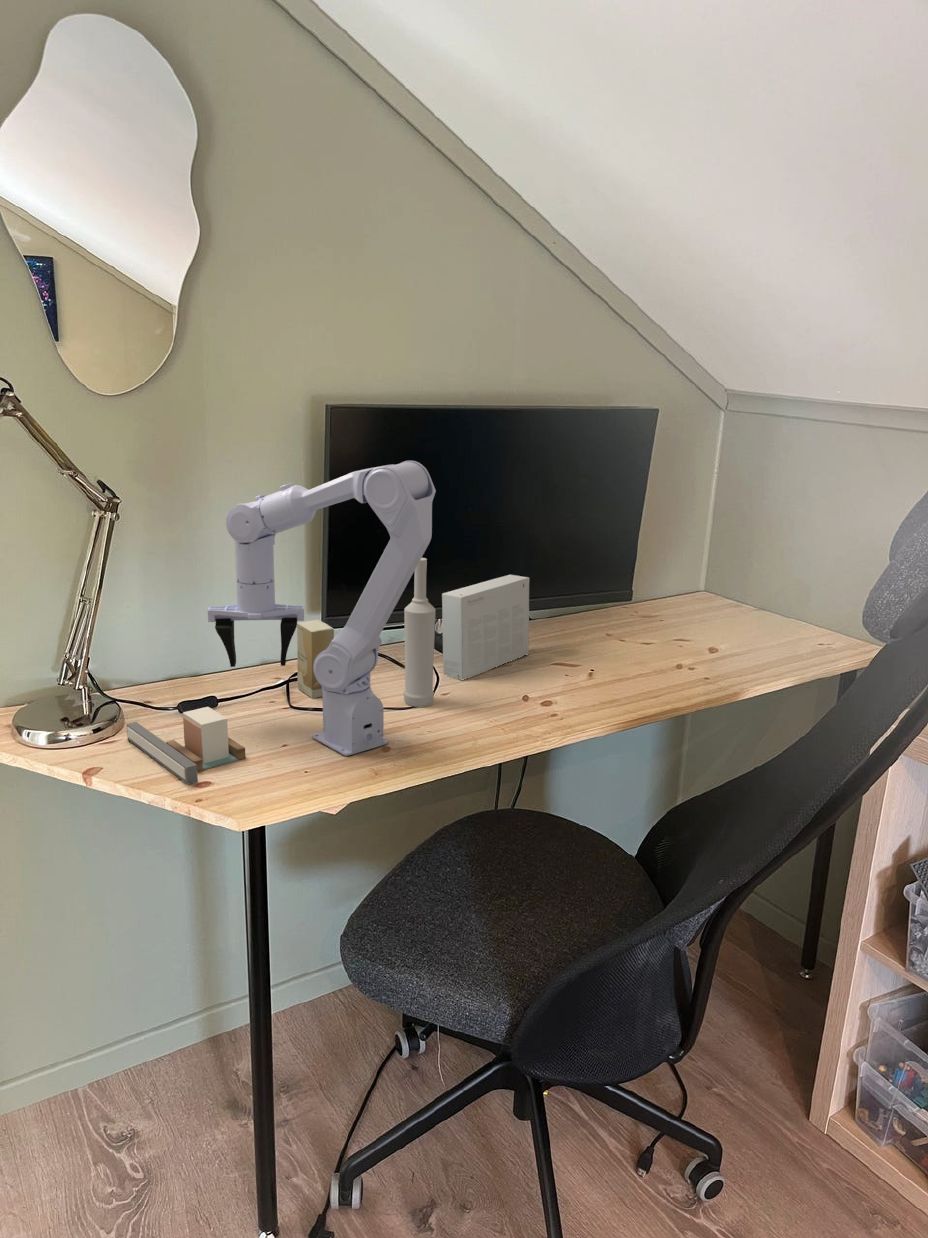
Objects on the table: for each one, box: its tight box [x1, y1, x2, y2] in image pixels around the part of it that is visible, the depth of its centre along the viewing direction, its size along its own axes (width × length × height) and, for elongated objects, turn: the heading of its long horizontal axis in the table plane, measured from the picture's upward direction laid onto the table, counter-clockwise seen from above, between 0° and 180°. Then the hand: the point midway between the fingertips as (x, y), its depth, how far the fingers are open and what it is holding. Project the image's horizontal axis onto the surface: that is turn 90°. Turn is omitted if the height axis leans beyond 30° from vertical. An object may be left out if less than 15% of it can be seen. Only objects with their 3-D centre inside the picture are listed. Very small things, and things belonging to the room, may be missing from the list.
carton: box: [182, 706, 229, 764], centre depth 141 cm, size 4×6×6 cm
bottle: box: [403, 557, 436, 708], centre depth 162 cm, size 5×5×25 cm
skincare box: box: [296, 619, 335, 699], centre depth 168 cm, size 6×4×12 cm
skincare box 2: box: [441, 574, 530, 679], centre depth 184 cm, size 21×5×16 cm, turn 141°
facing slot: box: [165, 736, 246, 773], centre depth 142 cm, size 9×8×2 cm
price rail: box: [126, 721, 199, 785], centre depth 140 cm, size 20×2×2 cm, turn 41°
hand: (258, 664), depth 152 cm, fingers open, 7 cm apart
